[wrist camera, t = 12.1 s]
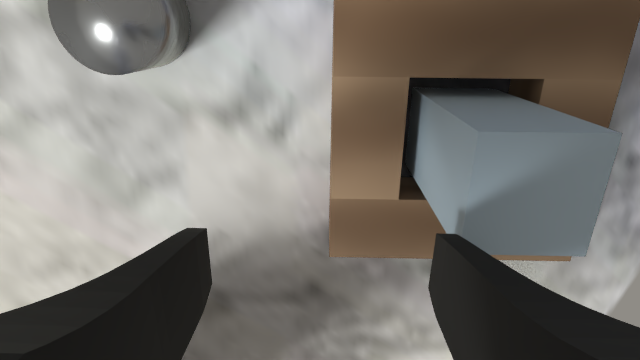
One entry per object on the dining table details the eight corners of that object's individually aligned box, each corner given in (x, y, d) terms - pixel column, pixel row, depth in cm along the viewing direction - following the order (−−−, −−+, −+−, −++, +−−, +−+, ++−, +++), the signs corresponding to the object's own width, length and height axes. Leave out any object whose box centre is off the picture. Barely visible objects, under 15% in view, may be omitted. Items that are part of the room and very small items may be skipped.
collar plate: (539, 231, 22) (570, 261, 19) (329, 228, 22) (329, 256, 19) (595, 0, 18) (646, -6, 15) (333, -2, 18) (334, -9, 15)
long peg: (480, 164, 21) (585, 256, 12) (405, 163, 21) (458, 254, 12) (492, 88, 19) (622, 133, 11) (412, 87, 19) (478, 131, 11)
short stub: (195, 67, 19) (168, 75, 16) (108, 67, 19) (63, 74, 16) (184, -33, 17) (151, -48, 14) (89, -33, 18) (34, -48, 14)
